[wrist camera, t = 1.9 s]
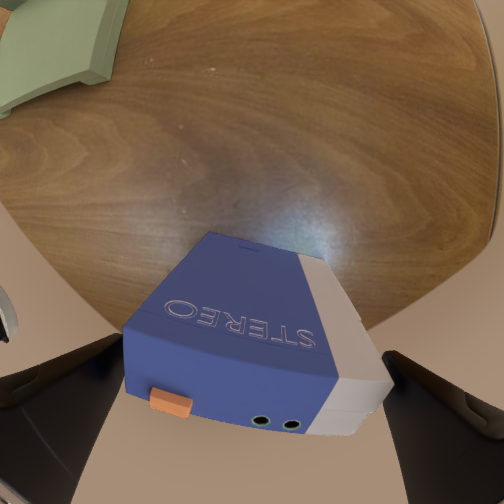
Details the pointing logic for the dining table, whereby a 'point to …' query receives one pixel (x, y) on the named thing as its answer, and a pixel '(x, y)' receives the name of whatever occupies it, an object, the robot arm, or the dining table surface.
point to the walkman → (254, 343)
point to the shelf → (56, 46)
